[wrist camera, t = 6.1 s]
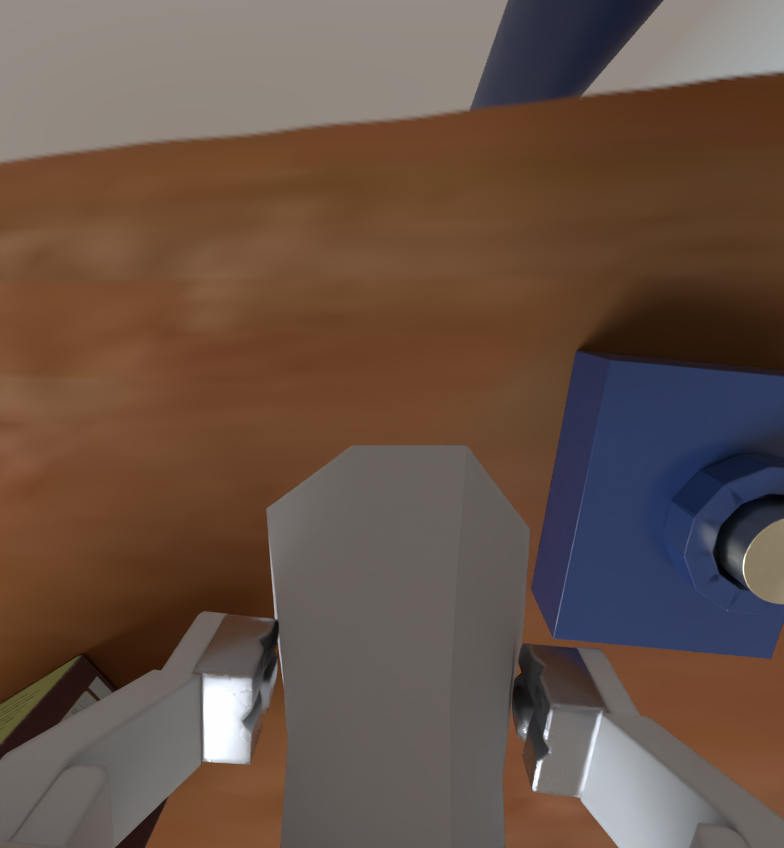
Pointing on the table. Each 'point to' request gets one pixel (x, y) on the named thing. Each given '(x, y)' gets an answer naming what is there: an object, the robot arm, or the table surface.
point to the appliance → (659, 504)
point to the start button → (755, 547)
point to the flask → (397, 648)
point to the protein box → (62, 718)
